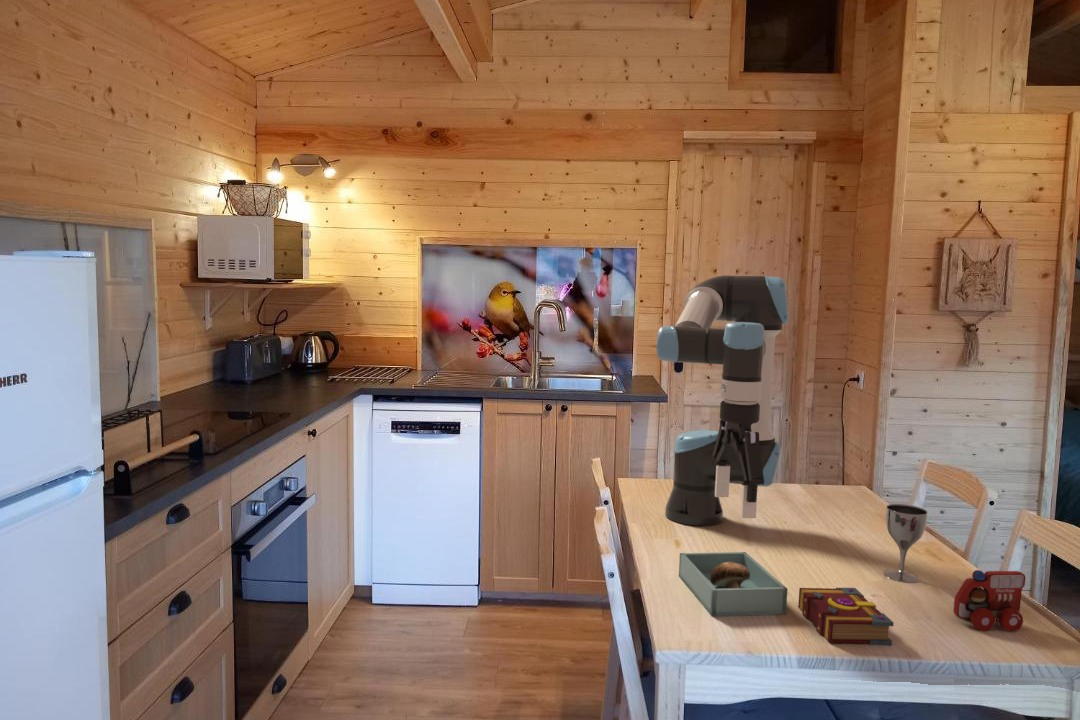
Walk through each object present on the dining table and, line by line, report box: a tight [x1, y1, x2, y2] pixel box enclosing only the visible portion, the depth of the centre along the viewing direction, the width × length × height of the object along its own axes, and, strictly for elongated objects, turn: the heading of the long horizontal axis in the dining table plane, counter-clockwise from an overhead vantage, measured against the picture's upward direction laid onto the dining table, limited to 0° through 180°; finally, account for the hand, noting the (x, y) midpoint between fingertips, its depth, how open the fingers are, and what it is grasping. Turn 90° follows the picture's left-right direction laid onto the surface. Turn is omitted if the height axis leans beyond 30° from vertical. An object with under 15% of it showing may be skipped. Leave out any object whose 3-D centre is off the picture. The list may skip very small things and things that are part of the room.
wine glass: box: [883, 503, 928, 584], centre depth 162 cm, size 8×8×15 cm
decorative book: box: [797, 587, 894, 646], centre depth 138 cm, size 11×16×5 cm
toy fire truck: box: [953, 569, 1026, 632], centre depth 140 cm, size 7×12×10 cm, turn 91°
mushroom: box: [710, 562, 750, 588], centre depth 150 cm, size 8×8×6 cm
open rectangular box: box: [678, 551, 788, 617], centre depth 150 cm, size 20×15×5 cm
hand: (734, 506), depth 149 cm, fingers open, 13 cm apart
